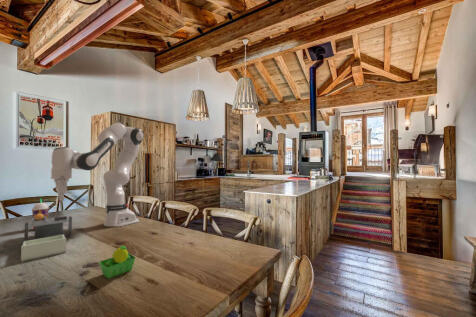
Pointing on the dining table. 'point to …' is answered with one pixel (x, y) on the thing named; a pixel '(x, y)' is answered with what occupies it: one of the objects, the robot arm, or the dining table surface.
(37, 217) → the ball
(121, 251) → the fruit basket
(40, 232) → the fulcrum stand
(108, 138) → the robot arm
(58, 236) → the bin
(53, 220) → the seesaw lever
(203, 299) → the dining table surface
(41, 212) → the smoothie
